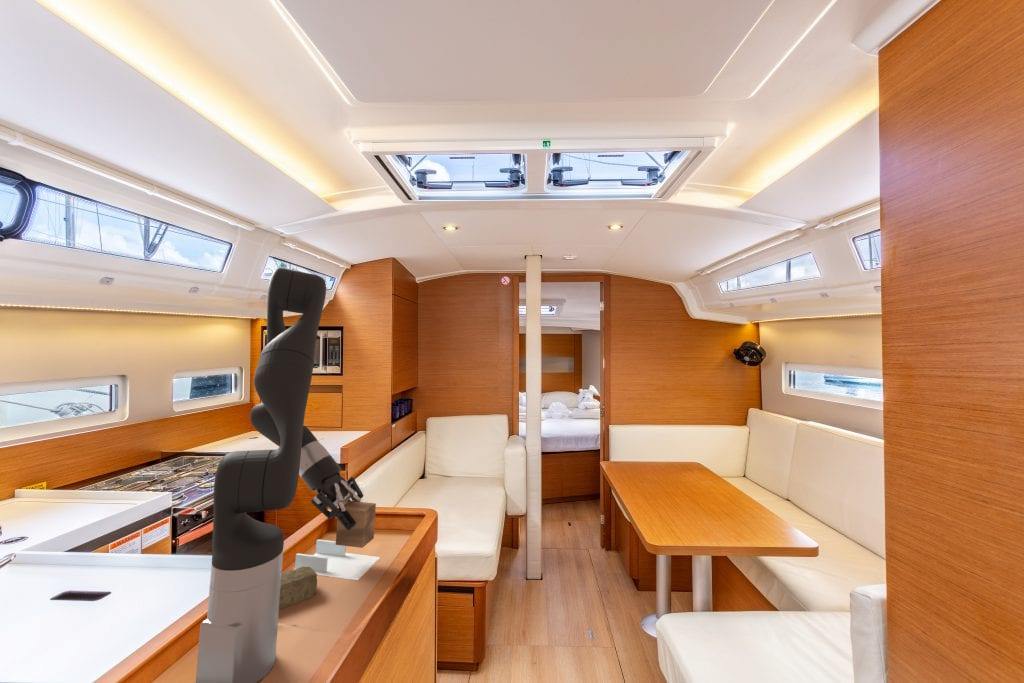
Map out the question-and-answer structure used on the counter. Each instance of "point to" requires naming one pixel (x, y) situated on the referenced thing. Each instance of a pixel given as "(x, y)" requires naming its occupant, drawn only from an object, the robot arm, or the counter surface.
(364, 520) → the walnut block
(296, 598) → the stone block
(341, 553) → the white tray
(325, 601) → the counter surface
